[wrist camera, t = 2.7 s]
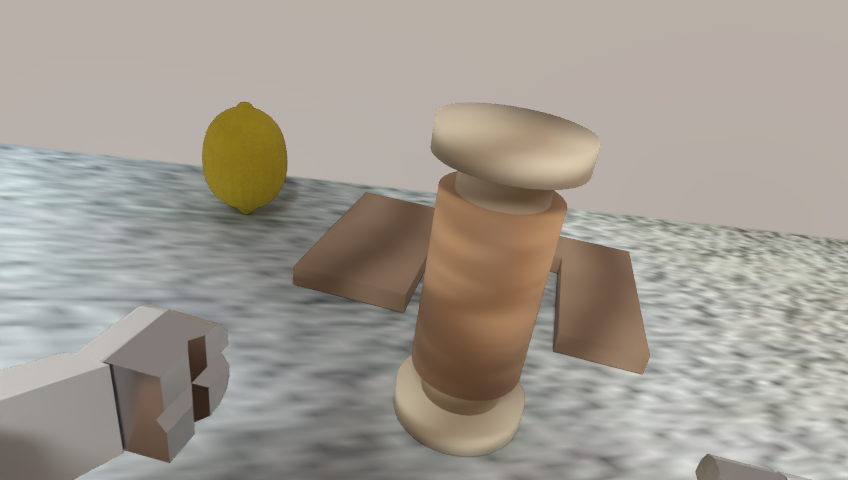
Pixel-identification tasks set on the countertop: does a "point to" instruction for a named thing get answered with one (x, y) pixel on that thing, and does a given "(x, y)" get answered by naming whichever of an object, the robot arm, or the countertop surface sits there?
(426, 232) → the notched board
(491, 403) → the bobbin
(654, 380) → the countertop surface
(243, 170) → the lemon
